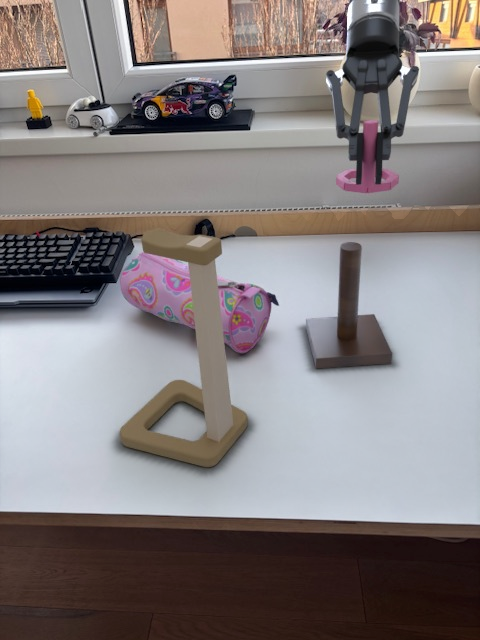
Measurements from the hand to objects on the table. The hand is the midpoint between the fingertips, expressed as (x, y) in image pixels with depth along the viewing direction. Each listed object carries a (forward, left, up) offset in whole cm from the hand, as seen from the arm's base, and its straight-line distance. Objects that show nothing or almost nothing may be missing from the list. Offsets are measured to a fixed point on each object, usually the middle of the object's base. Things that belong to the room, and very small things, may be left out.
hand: (368, 179), depth 75 cm
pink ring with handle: (0, -8, -3) cm, 9 cm away
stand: (+2, +18, -15) cm, 24 cm away
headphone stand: (+18, +35, -15) cm, 43 cm away
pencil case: (+22, +15, -15) cm, 31 cm away
